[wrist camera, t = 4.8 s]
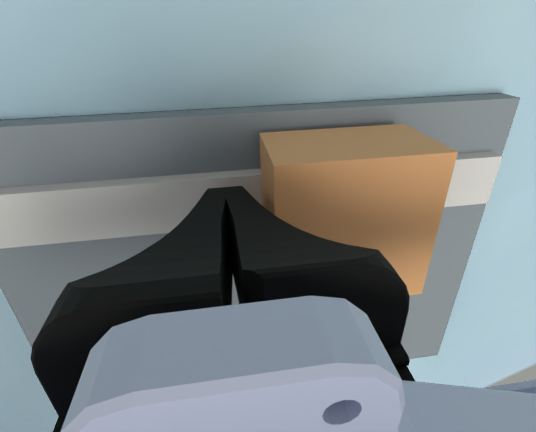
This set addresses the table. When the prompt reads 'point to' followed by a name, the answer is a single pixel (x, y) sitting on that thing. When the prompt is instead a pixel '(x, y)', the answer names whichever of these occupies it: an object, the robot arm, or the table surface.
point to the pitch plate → (211, 176)
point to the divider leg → (361, 189)
